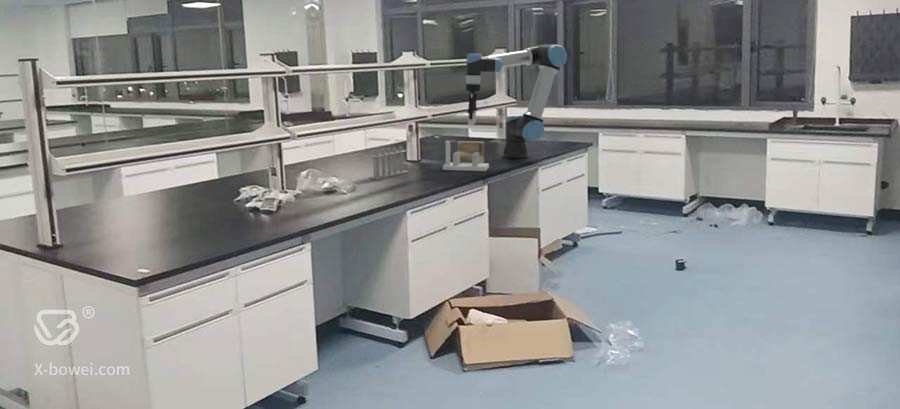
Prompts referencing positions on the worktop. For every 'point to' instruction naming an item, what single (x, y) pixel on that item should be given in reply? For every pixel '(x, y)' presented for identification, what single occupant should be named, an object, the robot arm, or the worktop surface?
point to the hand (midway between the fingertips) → (471, 124)
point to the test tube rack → (388, 154)
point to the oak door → (470, 151)
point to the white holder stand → (463, 166)
